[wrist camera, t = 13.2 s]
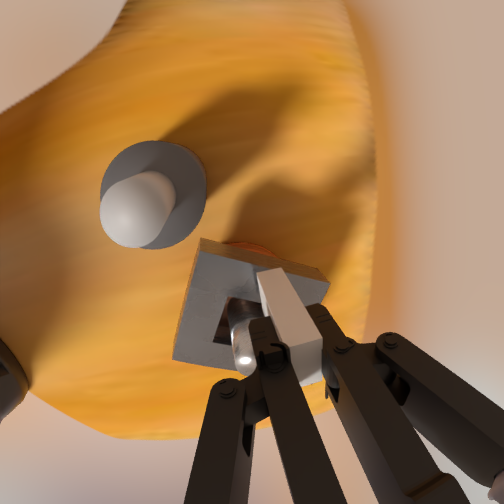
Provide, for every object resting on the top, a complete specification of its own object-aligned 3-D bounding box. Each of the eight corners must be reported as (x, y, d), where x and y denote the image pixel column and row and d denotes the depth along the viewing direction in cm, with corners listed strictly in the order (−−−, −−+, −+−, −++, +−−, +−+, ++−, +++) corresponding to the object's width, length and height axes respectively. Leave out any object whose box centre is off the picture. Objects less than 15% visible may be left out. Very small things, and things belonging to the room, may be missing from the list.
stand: (121, 210, 19) (62, 262, 10) (140, 135, 17) (83, 126, 8) (194, 230, 21) (185, 297, 12) (217, 155, 19) (225, 160, 10)
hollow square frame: (174, 339, 21) (171, 359, 18) (200, 237, 18) (199, 250, 16) (275, 356, 23) (281, 375, 21) (317, 268, 20) (330, 283, 18)
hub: (181, 317, 23) (174, 394, 15) (204, 230, 21) (203, 286, 13) (267, 334, 26) (291, 406, 17) (301, 256, 23) (348, 315, 15)
